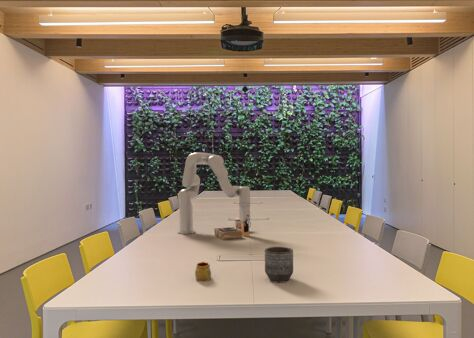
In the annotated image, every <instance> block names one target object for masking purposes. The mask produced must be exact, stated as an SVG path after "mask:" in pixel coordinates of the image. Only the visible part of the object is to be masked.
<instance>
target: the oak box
mask: <svg viewBox="0 0 474 338" xmlns="http://www.w3.org/2000/svg"><path fill="white" fill-rule="evenodd" d="M213 229H214V237H216V238H217V239H220V240H221V241H226V240H227V241H228V240H238V239H243V236H242V230H239V229H237V228H235V226H228V227H217V228H213Z"/></svg>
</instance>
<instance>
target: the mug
mask: <svg viewBox="0 0 474 338" xmlns="http://www.w3.org/2000/svg"><path fill="white" fill-rule="evenodd" d="M210 266H211V264H209V262H206V261H202V262H198V263H197V264H196V267H195V270H194V274H195V275H194V276H195V279H196V281H202V282H203V281H205V282H206V281H210V279H211V276H212V270H211V267H210Z"/></svg>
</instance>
